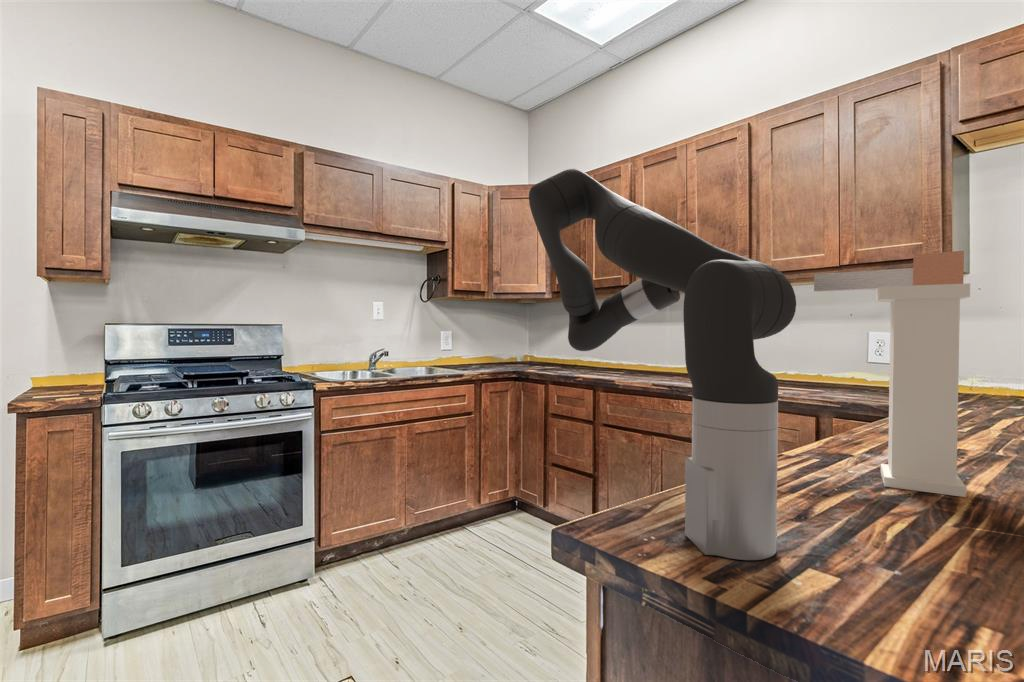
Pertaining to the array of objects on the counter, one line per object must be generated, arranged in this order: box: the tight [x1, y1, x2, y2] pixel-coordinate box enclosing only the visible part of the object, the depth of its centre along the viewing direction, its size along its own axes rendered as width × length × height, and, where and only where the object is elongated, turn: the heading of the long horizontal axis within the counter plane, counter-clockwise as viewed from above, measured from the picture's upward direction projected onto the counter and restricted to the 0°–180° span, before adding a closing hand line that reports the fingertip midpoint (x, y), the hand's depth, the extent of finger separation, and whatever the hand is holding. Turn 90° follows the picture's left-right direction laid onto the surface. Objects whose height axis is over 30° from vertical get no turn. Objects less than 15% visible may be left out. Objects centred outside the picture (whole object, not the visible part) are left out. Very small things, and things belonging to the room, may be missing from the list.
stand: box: [875, 283, 971, 498], centre depth 85 cm, size 11×10×32 cm
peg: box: [813, 250, 965, 293], centre depth 87 cm, size 20×6×5 cm, turn 50°
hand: (727, 254), depth 96 cm, fingers open, 8 cm apart
